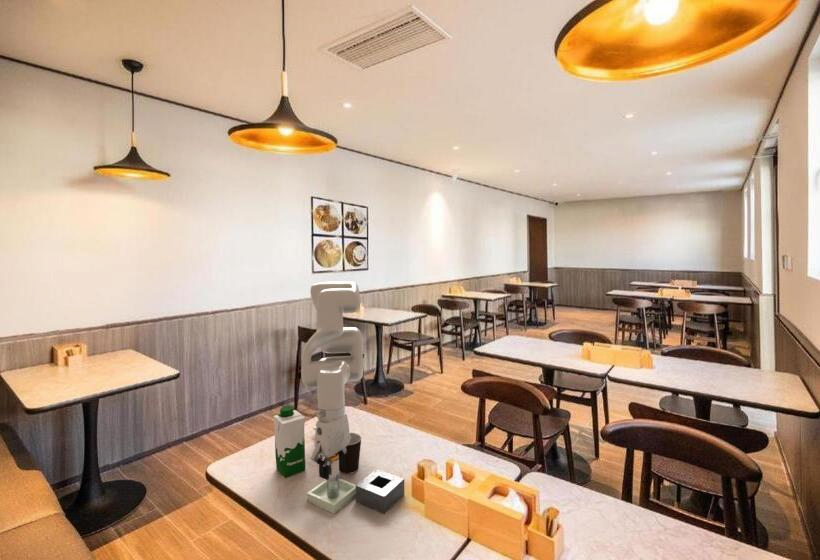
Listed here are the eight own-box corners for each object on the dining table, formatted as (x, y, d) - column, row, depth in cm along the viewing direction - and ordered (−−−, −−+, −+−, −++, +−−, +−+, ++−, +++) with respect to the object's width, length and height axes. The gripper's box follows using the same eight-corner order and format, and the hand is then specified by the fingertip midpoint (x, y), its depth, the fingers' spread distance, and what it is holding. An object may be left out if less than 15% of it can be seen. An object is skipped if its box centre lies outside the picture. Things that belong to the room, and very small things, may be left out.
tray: (307, 501, 113) (306, 493, 113) (332, 483, 122) (332, 475, 122) (334, 513, 108) (334, 505, 108) (358, 494, 117) (358, 485, 117)
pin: (324, 496, 114) (323, 456, 114) (333, 489, 117) (332, 450, 116) (333, 500, 113) (333, 459, 112) (342, 493, 116) (341, 454, 115)
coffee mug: (356, 476, 126) (356, 446, 125) (331, 474, 127) (330, 443, 127) (367, 458, 137) (367, 430, 136) (344, 455, 139) (343, 428, 138)
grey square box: (355, 502, 113) (355, 485, 113) (376, 484, 121) (376, 468, 121) (384, 514, 108) (384, 496, 107) (404, 495, 116) (404, 478, 116)
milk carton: (297, 459, 136) (296, 403, 135) (309, 470, 129) (308, 411, 128) (272, 468, 131) (270, 409, 129) (283, 481, 124) (281, 418, 122)
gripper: (319, 425, 104) (320, 491, 105) (360, 404, 118) (361, 462, 120) (298, 419, 108) (300, 483, 109) (341, 399, 122) (342, 455, 124)
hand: (332, 471), depth 114 cm, fingers open, 6 cm apart
